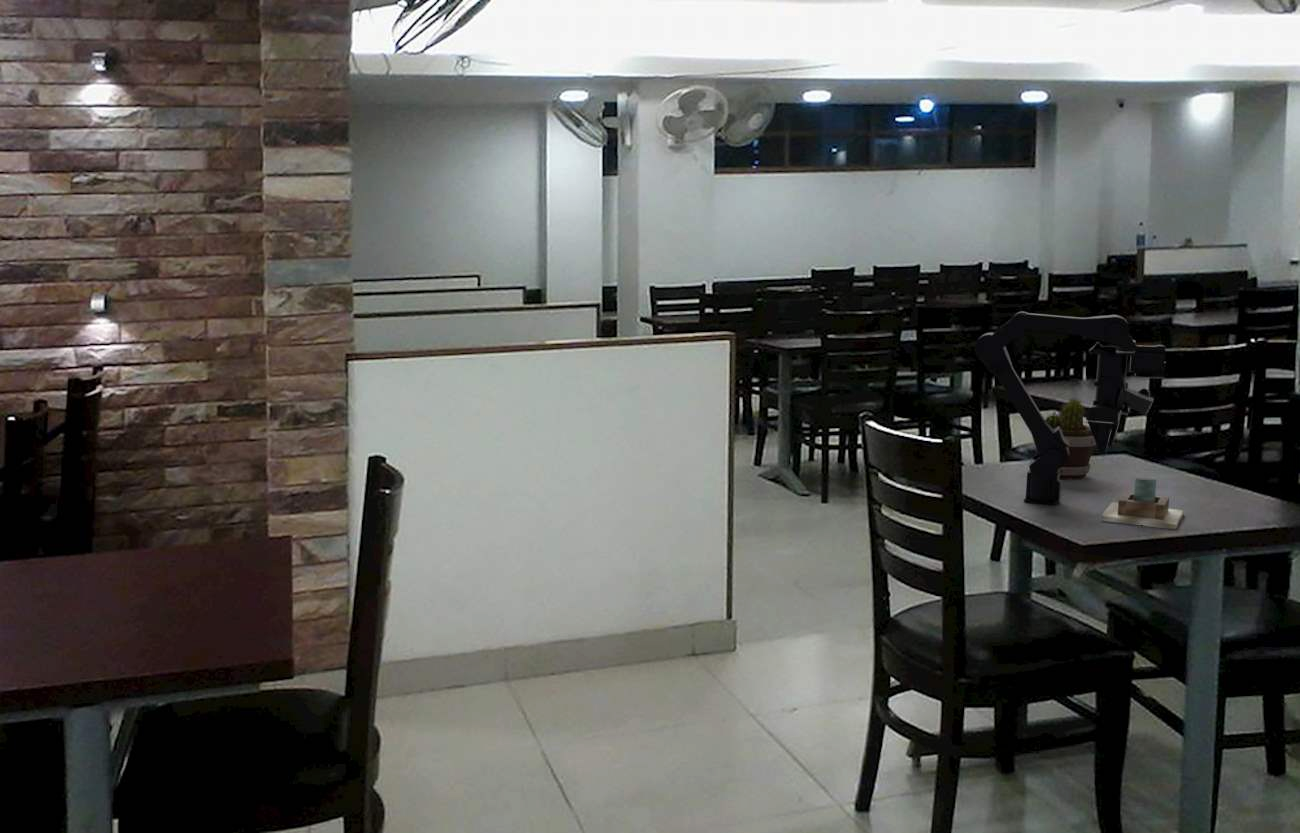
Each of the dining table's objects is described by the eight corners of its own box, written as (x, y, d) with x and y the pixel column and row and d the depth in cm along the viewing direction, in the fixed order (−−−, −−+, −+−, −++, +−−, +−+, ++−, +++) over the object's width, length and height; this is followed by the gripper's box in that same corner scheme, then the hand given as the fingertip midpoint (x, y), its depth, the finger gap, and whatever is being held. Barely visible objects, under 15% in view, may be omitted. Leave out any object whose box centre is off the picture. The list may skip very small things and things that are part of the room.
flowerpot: (1022, 469, 309) (1027, 386, 306) (1086, 470, 308) (1092, 387, 305) (1037, 481, 295) (1043, 395, 292) (1105, 483, 294) (1111, 396, 291)
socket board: (1101, 520, 258) (1102, 501, 257) (1111, 506, 270) (1113, 488, 270) (1175, 529, 252) (1177, 509, 251) (1183, 515, 264) (1184, 495, 263)
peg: (1131, 513, 260) (1134, 479, 259) (1134, 509, 263) (1136, 476, 262) (1152, 516, 258) (1155, 482, 257) (1154, 512, 262) (1157, 478, 260)
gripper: (1146, 384, 255) (1140, 461, 257) (1157, 374, 271) (1152, 446, 274) (1088, 380, 260) (1083, 455, 262) (1102, 370, 276) (1097, 441, 279)
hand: (1105, 449), depth 269 cm, fingers open, 9 cm apart
